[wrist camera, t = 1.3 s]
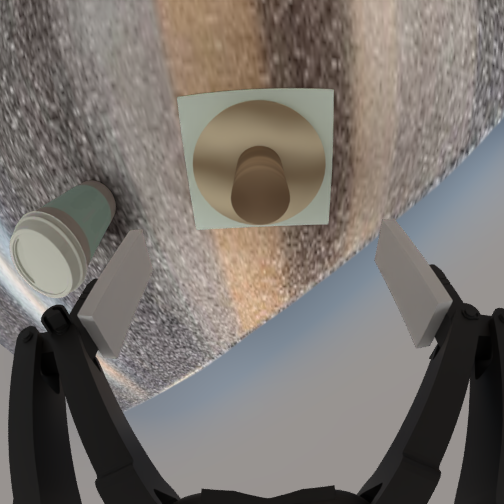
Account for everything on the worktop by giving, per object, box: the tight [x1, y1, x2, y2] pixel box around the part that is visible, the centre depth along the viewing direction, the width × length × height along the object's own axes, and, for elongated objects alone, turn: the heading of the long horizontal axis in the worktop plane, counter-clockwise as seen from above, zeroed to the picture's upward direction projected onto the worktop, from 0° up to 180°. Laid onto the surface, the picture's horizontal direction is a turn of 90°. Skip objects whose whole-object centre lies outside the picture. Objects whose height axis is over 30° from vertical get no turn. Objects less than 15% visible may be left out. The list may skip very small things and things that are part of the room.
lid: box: [193, 100, 326, 225], centre depth 23 cm, size 12×12×8 cm
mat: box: [177, 88, 334, 230], centre depth 27 cm, size 14×14×1 cm
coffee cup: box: [10, 180, 116, 298], centre depth 25 cm, size 8×8×12 cm
